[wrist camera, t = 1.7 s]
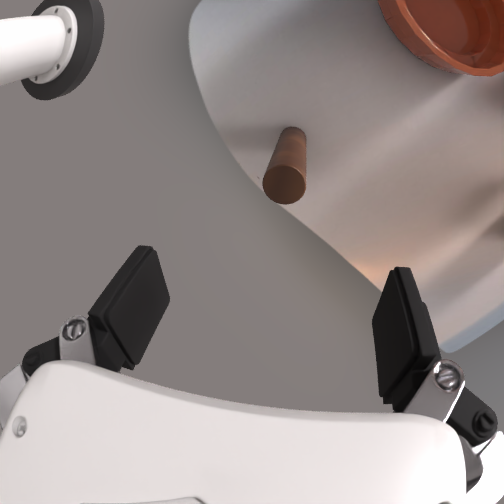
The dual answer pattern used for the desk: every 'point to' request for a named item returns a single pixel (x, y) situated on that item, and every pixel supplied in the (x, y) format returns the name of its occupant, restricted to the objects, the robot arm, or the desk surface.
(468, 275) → the desk surface
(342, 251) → the desk surface
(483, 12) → the mixing bowl
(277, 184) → the stick
